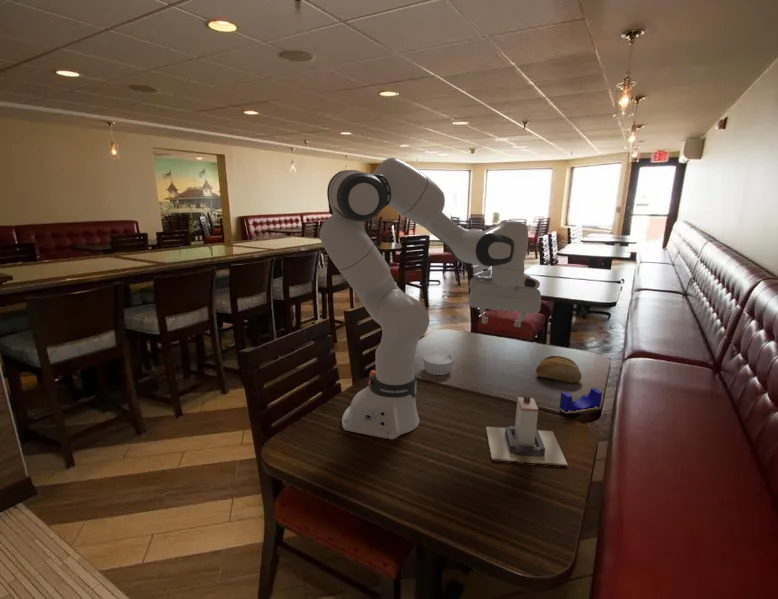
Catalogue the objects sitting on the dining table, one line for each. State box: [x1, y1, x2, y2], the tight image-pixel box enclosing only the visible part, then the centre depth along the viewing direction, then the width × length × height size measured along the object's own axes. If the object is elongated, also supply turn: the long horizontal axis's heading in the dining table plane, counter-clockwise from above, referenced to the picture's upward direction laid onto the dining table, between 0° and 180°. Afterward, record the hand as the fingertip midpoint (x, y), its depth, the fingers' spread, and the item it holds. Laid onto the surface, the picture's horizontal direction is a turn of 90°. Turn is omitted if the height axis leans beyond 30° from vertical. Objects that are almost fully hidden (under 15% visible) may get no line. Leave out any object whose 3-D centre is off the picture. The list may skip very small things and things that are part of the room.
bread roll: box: [535, 355, 582, 384], centre depth 143 cm, size 10×15×8 cm, turn 70°
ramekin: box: [422, 351, 454, 376], centre depth 150 cm, size 11×11×5 cm
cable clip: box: [559, 387, 603, 412], centre depth 124 cm, size 12×4×6 cm, turn 104°
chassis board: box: [485, 425, 569, 467], centre depth 106 cm, size 18×14×3 cm
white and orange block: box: [514, 395, 539, 447], centre depth 104 cm, size 4×6×13 cm
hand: (500, 324), depth 118 cm, fingers open, 8 cm apart
